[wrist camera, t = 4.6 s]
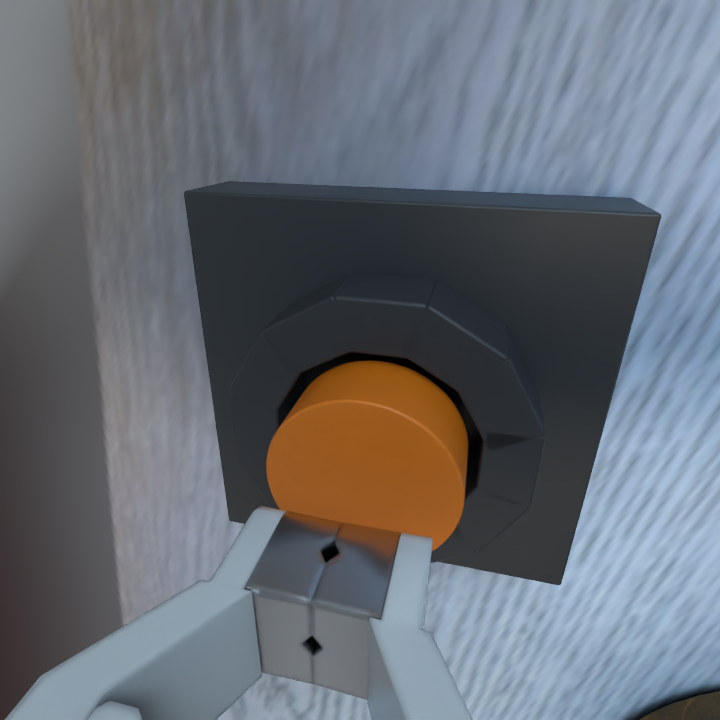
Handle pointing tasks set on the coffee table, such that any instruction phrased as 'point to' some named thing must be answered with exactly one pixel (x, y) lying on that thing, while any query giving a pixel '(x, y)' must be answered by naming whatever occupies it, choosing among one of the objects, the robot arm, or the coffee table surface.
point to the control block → (428, 334)
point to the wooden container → (690, 709)
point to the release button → (373, 452)
